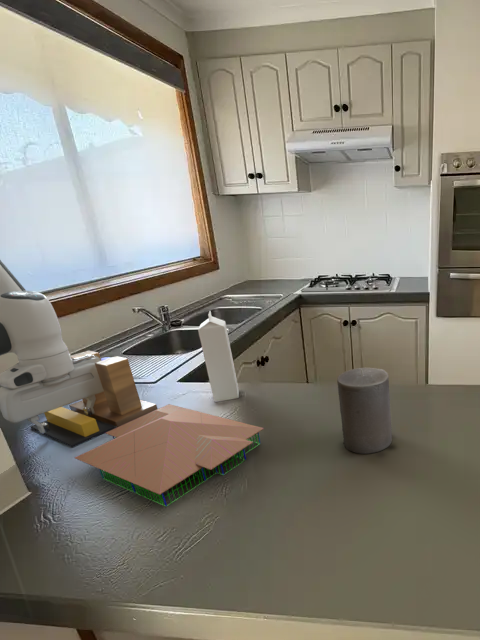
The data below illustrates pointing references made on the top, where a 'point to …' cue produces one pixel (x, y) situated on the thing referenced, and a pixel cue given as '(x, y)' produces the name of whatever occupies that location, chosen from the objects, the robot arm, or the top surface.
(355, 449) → the pillar candle
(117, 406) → the tower
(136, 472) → the house
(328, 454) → the top surface
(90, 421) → the bar
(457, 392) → the top surface
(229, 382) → the milk
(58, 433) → the mat
